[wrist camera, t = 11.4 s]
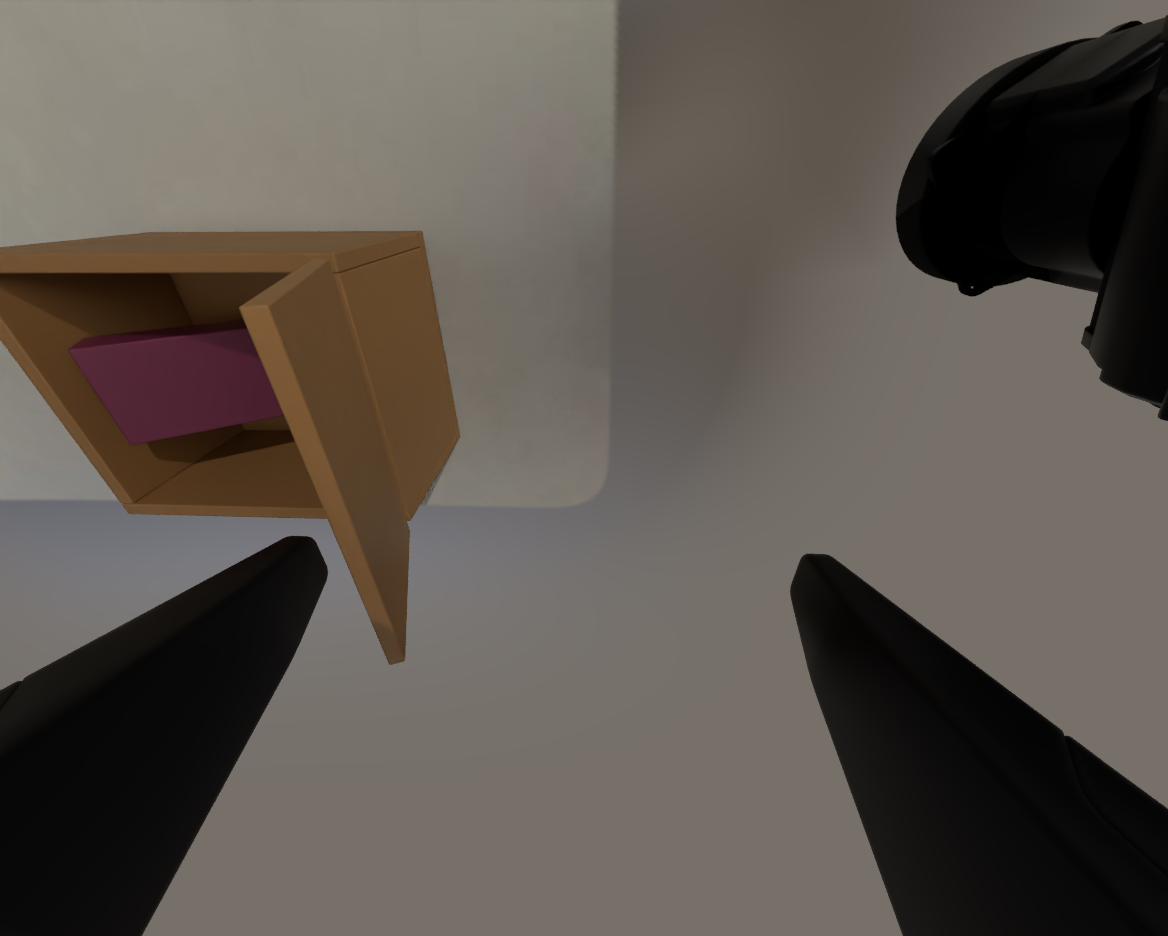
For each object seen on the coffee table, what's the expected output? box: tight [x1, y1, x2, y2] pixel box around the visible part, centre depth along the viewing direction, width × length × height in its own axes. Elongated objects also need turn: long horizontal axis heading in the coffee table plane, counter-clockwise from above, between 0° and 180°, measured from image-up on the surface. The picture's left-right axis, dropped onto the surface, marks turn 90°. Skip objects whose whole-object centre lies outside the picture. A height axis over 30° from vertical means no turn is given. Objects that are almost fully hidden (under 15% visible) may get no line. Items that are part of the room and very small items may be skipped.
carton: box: [0, 231, 460, 521], centre depth 17 cm, size 11×9×6 cm
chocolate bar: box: [68, 320, 284, 445], centre depth 17 cm, size 4×8×2 cm
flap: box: [239, 258, 410, 665], centre depth 11 cm, size 5×9×1 cm
